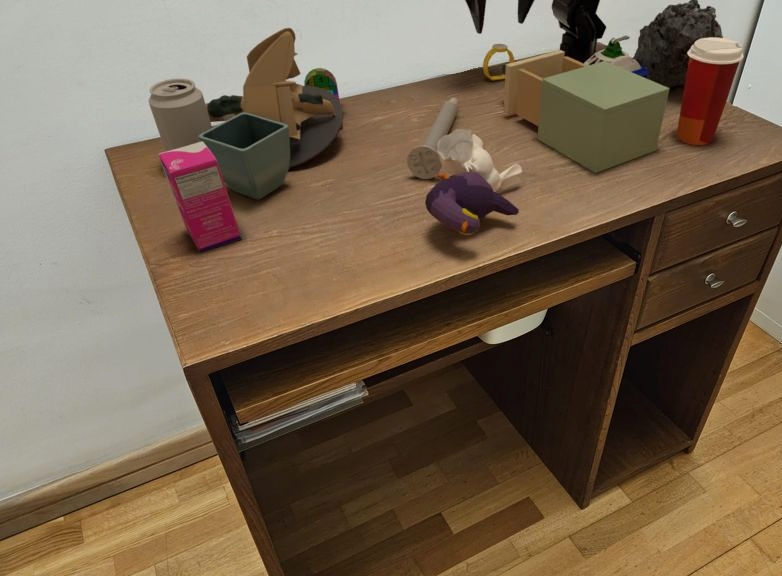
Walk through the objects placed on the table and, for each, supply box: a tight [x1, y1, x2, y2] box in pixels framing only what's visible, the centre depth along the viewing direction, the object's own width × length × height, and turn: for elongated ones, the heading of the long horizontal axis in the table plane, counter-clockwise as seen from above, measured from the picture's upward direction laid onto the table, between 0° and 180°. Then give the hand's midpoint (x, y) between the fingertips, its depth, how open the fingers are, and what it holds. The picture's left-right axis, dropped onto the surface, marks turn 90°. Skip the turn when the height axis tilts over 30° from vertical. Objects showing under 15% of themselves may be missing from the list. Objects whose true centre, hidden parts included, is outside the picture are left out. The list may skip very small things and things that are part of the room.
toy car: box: [584, 35, 649, 79], centre depth 111 cm, size 9×12×10 cm
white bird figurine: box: [437, 128, 523, 193], centre depth 89 cm, size 12×8×10 cm
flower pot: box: [198, 112, 290, 200], centre depth 90 cm, size 9×9×9 cm
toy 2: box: [424, 172, 520, 236], centre depth 82 cm, size 11×12×7 cm
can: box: [147, 77, 213, 152], centre depth 95 cm, size 8×8×12 cm
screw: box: [406, 97, 459, 180], centre depth 102 cm, size 5×26×5 cm
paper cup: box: [676, 37, 744, 146], centre depth 98 cm, size 8×8×14 cm
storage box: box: [537, 61, 670, 174], centre depth 98 cm, size 14×13×10 cm
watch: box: [482, 43, 515, 82], centre depth 120 cm, size 6×3×6 cm, turn 116°
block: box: [303, 67, 344, 129], centre depth 106 cm, size 12×8×7 cm
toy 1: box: [205, 27, 344, 169], centre depth 95 cm, size 18×20×15 cm
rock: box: [632, 0, 724, 88], centre depth 112 cm, size 16×14×15 cm
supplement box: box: [157, 141, 242, 253], centre depth 80 cm, size 6×6×12 cm
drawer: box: [501, 49, 588, 128], centre depth 106 cm, size 18×11×8 cm, turn 33°
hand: (500, 28), depth 115 cm, fingers open, 9 cm apart
